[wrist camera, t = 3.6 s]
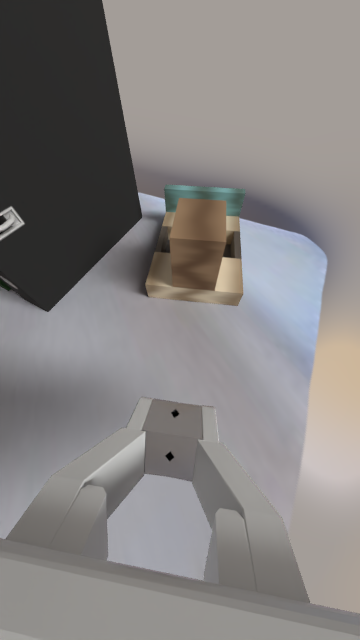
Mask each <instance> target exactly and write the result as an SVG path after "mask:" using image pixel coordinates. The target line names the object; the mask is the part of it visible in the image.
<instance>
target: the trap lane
mask: <svg viewBox="0 0 360 640" xmlns="http://www.w3.org/2000/svg"><path fill="white" fill-rule="evenodd" d="M164 190H165V204H166V214H165V217H164V221H163V224H162V228H161V231H160V235H159V238H158V242H157V245H156V249H155V252H154V256H153V259H152V263H151V266H150V270H149V273H148V277H147V280H146V284H145V285H146V289H147V293H148V297H153V298H163V299H174V300H184V301H194V302H204V303H214V304H224V305H235V306H238V304H239V302H240V300H241V297H242V295H243V280H242V262H241V243H240V225H239V215H240V211H241V208H242V204H243V200H244V196H245V189H234V188H215V187H198V186H197V187H195V186H179V185H166V186H165V189H164ZM179 198H190V199H206V200H223V201H226V245H225V249H224V253H223V258H222V262H221V266H220V270H219V274H218V279H217V283H216V287H215V291H210V290H199V289H188V288H178V287H173V286H172V271H171V255H170V239H169V237H170V233H171V229H172V225H173V221H174V217H175V213H176V208H177V204H178V200H179Z"/></svg>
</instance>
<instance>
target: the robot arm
mask: <svg viewBox="0 0 360 640" xmlns="http://www.w3.org/2000/svg"><path fill="white" fill-rule="evenodd" d="M144 474H151V475H159V476H166V477H172V478H177V479H182V480H187V481H192V484H193V486H194V489H195V491H196V493H197V496H198V498H199V501H200V503H201V505H202V508H203V510H204V512H205V515H206V517H207V520H208V522H209V524H210V527H211V529H212V534H211V539H210V545H209V550H208V555H207V560H206V566H205V571H204V581H202V580H197V579H193V578H188V577H183V576H178V575H174V574H169V573H164V572H159V571H154V570H150V569H145V568H140V567H135V566H131V565H126V564H121V563H116V562H112V561H107V557H108V536H107V519H108V518H109V517H110V515H111V514H112V513H113V512H114V511H115V509H116V508H117V507H118V506H119V505H120V503H121V502H122V501H123V500H124V499H125V497H126V496H127V495H128V494H129V493H130V491H131V490H132V489H133V488H134V487H135V485H136V484H137V483H138V482H139V481H140V479H141V478H142V477H143V476H144ZM0 640H360V614H359V613H353V612H349V611H345V610H340V609H335V608H330V607H325V606H321V605H316V604H311V603H310V601H309V598H308V595H307V592H306V589H305V586H304V583H303V580H302V577H301V574H300V571H299V568H298V565H297V562H296V559H295V556H294V553H293V549H292V547H291V543H290V540H289V537H288V534H287V531H286V528H285V525H284V522H283V519H282V517H281V516H280V515H279V513H278V512H277V511H276V510H275V508H274V507H273V506H272V504H271V503H270V502H269V501H268V499H267V498H266V497H265V496H264V494H263V493H262V492H261V490H260V489H259V488H258V487H257V485H256V484H255V483H254V481H253V480H252V479H251V478H250V476H249V475H248V474H247V473H246V471H245V470H244V469H243V467H242V466H241V465H240V464H239V462H238V461H237V460H236V459H235V457H234V456H233V455H232V453H231V452H230V451H229V450H228V448H227V447H226V446H225V445H224V443H220V442H219V437H218V428H217V420H216V411H215V407H213V406H204V405H202V406H201V405H193V404H186V403H178V402H172V401H166V400H160V399H153V398H146V397H141V398H140V399H139V401H138V403H137V405H136V408H135V410H134V412H133V414H132V416H131V418H130V420H129V422H128V425H127V427H126V428H121V429H119V430H118V431H116V432H115V433H113V434H112V435H111V436H109V437H108V438H106V439H105V440H103V441H102V442H100V443H99V444H97V445H96V446H94V447H93V448H91V449H90V450H89V451H87V452H86V453H84V454H83V455H81V456H80V457H78V458H77V459H75V460H74V461H72V462H71V463H70V464H68V465H67V466H65V467H64V468H62V469H61V470H59V471H58V472H56V473H55V474H53V475H52V476H51V477H50V478H49V480H48V481H47V482H46V484H45V485H44V487H43V488H42V489H41V491H40V492H39V493H38V495H37V496H36V498H35V499H34V500H33V502H32V503H31V504H30V506H29V507H28V509H27V510H26V511H25V513H24V514H23V515H22V517H21V518H20V520H19V521H18V522H17V524H16V525H15V527H14V528H13V529H12V531H11V532H10V533H9V535H8V536H7V538H6V539H2V538H0Z"/></svg>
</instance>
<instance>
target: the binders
mask: <svg viewBox="0 0 360 640" xmlns="http://www.w3.org/2000/svg"><path fill="white" fill-rule="evenodd" d="M141 218H142V213H141V207H140V202H139V197H138V191H137V186H136V180H135V175H134V170H133V165H132V159H131V154H130V148H129V143H128V138H127V132H126V127H125V122H124V116H123V111H122V105H121V100H120V95H119V89H118V84H117V78H116V73H115V68H114V62H113V57H112V52H111V46H110V41H109V36H108V30H107V25H106V19H105V14H104V9H103V3H102V0H0V286H1V287H3V288H4V289H6V290H8V291H9V290H10V289H13V290H14V291H15V292H16V293H18V294H19V295H20V296H21V297H22V298H24V299H25V300H27V301H29V302H30V303H32V304H34V305H36V306H38V307H40V308H42V309H43V310H45V311H47V312H49V311H50V310H51V309H52V308H53V307H54V306H55V305H56V304H57V303H58V302H59V301H60V300H61V299H62V298H63V297H64V296H65V295H66V294H67V293H68V292H69V291H70V290H71V289H72V288H73V287H74V286H75V285H76V284H77V282H78V281H79V280H80V279H81V278H82V277H83V276H84V275H85V274H86V273H87V272H88V271H89V270H90V269H91V268H92V267H93V266H94V265H95V264H96V263H97V262H98V261H99V260H100V259H101V258H102V257H103V256H104V255H105V254H106V253H107V252H108V251H109V250H110V249H111V248H112V247H113V246H114V245H115V244H116V243H117V242H118V241H119V240H120V239H121V238H122V237H123V236H124V235H125V234H126V233H127V232H128V231H129V230H130V229H131V228H132V227H133V226H134V225H135V224H136V223H137V222H138V221H139V220H140V219H141Z"/></svg>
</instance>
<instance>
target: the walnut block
mask: <svg viewBox="0 0 360 640" xmlns="http://www.w3.org/2000/svg"><path fill="white" fill-rule="evenodd" d="M169 239H170V255H171V271H172V286H173V287H178V288H188V289H199V290H210V291H215V287H216V283H217V279H218V274H219V270H220V266H221V262H222V258H223V253H224V249H225V245H226V201H223V200H206V199H190V198H179V200H178V204H177V208H176V213H175V217H174V221H173V225H172V229H171V233H170V237H169Z"/></svg>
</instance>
